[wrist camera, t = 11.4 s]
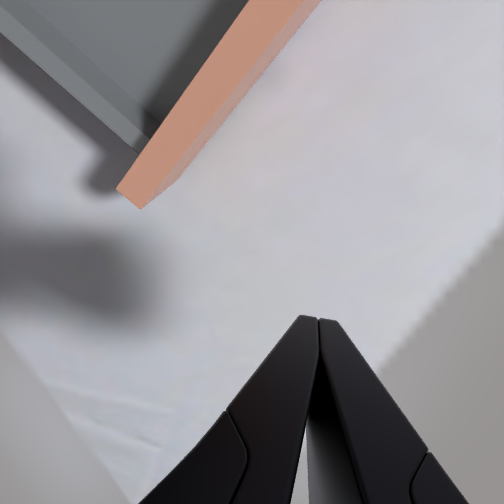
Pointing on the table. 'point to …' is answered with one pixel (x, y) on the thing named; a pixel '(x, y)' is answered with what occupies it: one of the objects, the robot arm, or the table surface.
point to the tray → (155, 67)
